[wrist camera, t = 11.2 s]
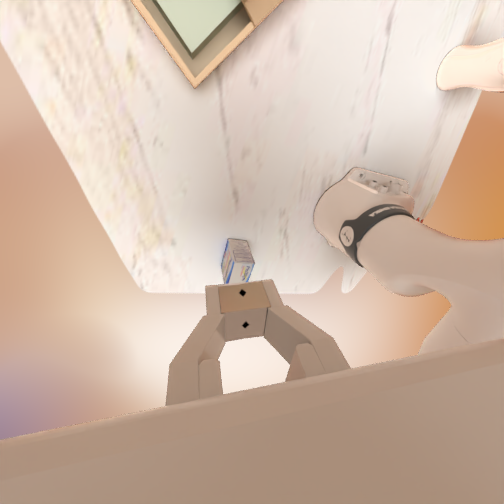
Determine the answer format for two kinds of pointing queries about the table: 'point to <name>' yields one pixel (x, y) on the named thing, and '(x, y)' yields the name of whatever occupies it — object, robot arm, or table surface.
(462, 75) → the beer glass
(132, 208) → the table surface
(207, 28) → the mailer box
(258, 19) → the mailer lid
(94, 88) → the table surface
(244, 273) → the medicine box
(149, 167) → the table surface
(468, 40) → the table surface
